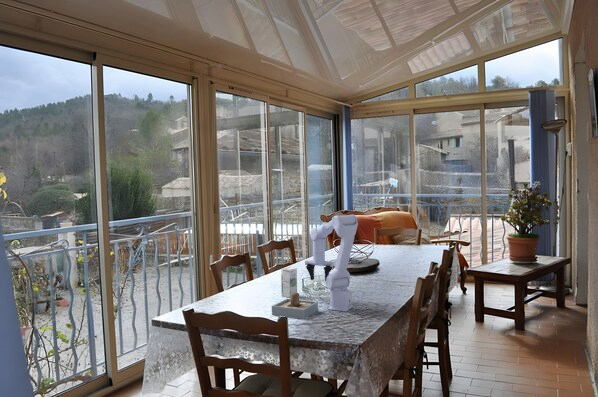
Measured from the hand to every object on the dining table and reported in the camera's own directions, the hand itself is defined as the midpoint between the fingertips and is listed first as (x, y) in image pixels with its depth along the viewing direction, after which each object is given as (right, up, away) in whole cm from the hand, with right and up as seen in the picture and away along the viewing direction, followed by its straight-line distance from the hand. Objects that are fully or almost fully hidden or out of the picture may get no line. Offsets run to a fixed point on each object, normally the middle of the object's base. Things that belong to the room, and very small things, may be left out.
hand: (319, 280), depth 243 cm
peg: (-12, -11, -20) cm, 26 cm away
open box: (-12, -11, -20) cm, 26 cm away
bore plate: (-12, -11, -20) cm, 26 cm away
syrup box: (-15, -10, +11) cm, 21 cm away
